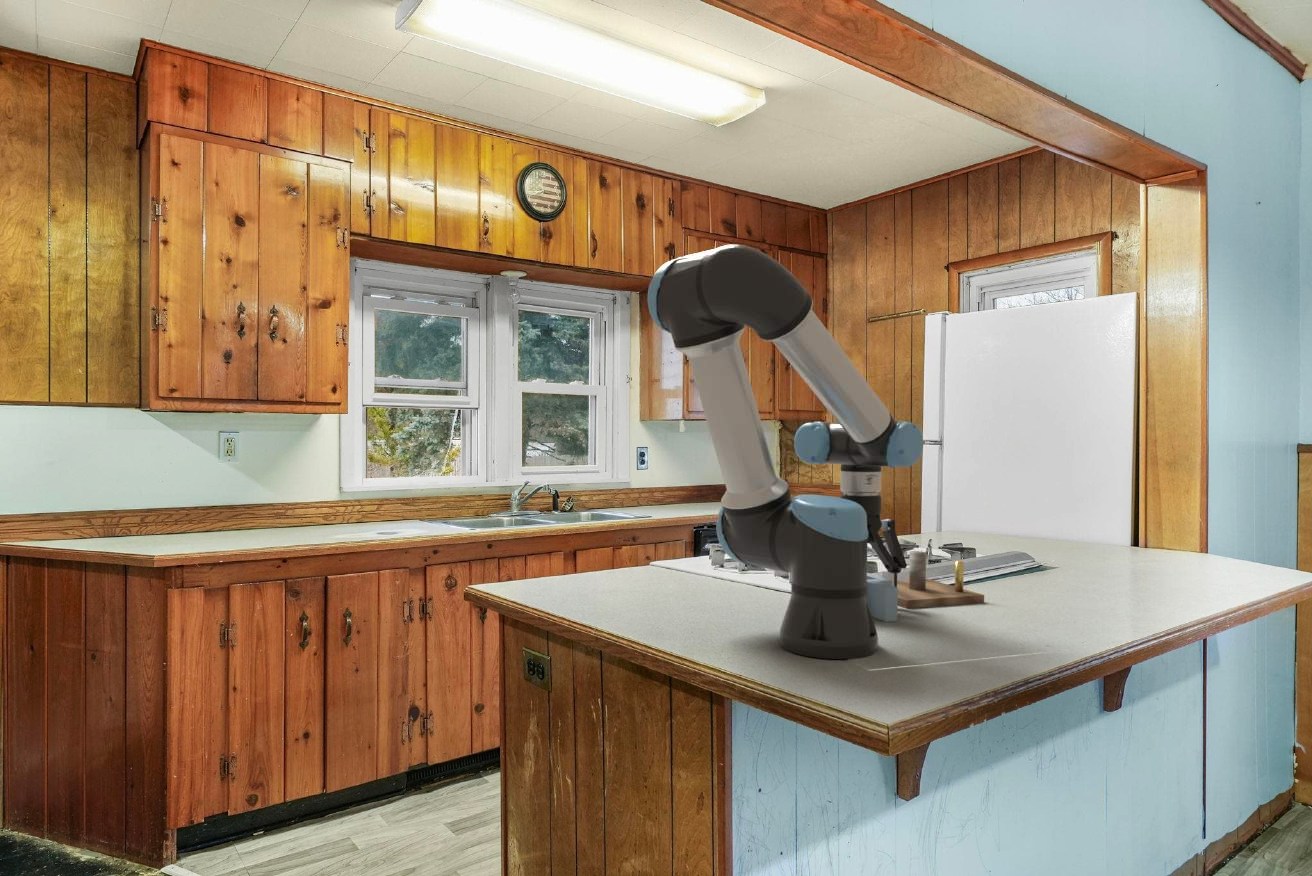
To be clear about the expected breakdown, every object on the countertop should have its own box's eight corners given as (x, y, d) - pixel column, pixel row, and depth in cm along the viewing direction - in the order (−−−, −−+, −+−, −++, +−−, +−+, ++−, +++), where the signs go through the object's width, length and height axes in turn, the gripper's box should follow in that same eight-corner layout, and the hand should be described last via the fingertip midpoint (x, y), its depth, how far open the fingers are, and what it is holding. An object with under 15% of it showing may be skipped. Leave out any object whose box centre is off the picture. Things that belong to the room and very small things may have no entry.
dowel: (958, 592, 162) (958, 562, 162) (953, 590, 163) (953, 561, 163) (965, 591, 162) (965, 562, 162) (959, 590, 164) (960, 560, 164)
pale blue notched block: (828, 605, 156) (828, 574, 156) (866, 602, 158) (866, 572, 158) (870, 622, 142) (871, 588, 142) (911, 619, 144) (912, 586, 144)
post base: (906, 608, 154) (907, 561, 154) (855, 590, 171) (855, 547, 171) (984, 602, 159) (984, 556, 159) (926, 585, 176) (927, 544, 176)
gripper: (814, 496, 145) (813, 616, 146) (926, 493, 153) (925, 608, 153) (794, 493, 152) (793, 607, 153) (902, 490, 160) (902, 599, 160)
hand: (859, 608), depth 153 cm, fingers open, 12 cm apart
